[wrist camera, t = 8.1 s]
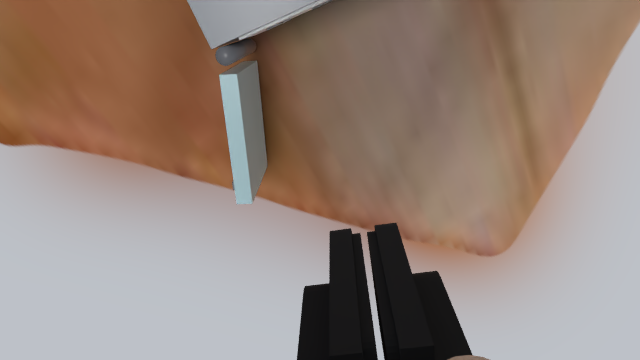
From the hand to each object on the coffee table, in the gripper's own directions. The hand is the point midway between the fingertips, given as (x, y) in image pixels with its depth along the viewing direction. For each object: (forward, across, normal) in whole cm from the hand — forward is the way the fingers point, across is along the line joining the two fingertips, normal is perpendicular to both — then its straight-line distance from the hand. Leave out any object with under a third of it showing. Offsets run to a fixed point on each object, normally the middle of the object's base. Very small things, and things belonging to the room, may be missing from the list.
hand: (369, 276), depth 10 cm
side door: (+21, +7, 0) cm, 22 cm away
